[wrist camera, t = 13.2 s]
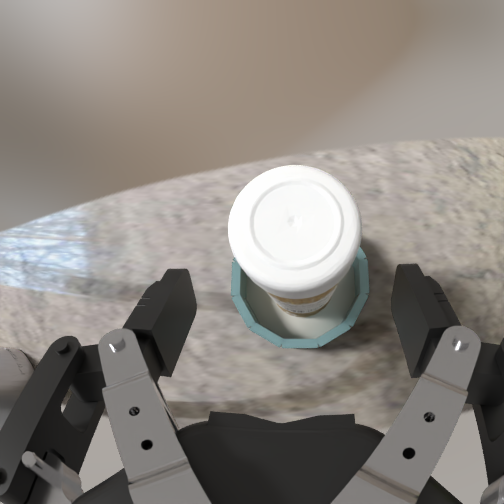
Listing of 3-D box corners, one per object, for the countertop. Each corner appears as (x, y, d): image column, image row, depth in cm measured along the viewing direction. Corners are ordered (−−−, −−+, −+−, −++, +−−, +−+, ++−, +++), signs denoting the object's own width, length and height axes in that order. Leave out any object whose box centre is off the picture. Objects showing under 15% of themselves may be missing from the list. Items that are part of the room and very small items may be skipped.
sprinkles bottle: (338, 264, 23) (373, 174, 10) (324, 325, 22) (349, 307, 9) (279, 251, 24) (246, 151, 11) (263, 310, 23) (207, 272, 10)
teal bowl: (322, 368, 21) (325, 373, 19) (218, 307, 24) (206, 302, 21) (380, 261, 23) (390, 250, 20) (278, 208, 25) (274, 192, 23)
